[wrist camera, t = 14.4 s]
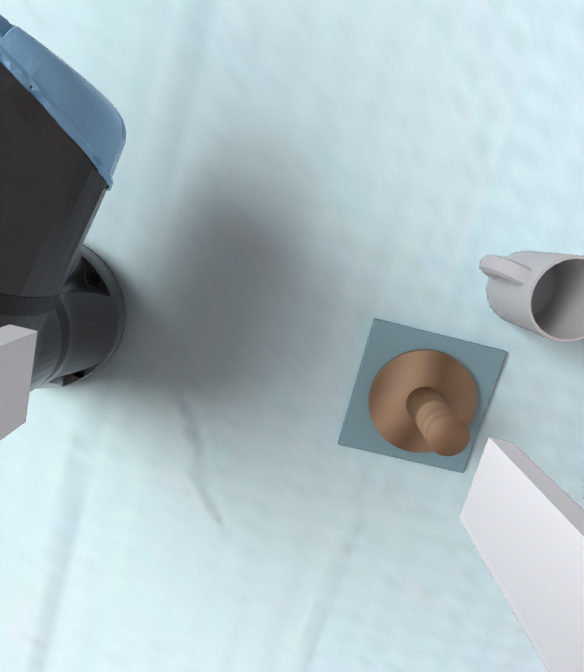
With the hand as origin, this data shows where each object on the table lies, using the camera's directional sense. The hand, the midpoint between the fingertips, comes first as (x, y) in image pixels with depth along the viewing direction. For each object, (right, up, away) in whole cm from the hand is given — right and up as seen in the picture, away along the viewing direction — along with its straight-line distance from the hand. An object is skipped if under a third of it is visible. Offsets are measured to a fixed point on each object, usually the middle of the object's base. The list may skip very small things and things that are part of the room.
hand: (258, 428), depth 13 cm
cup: (+23, +8, +34) cm, 42 cm away
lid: (+14, -4, +36) cm, 39 cm away
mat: (+14, -4, +36) cm, 39 cm away
